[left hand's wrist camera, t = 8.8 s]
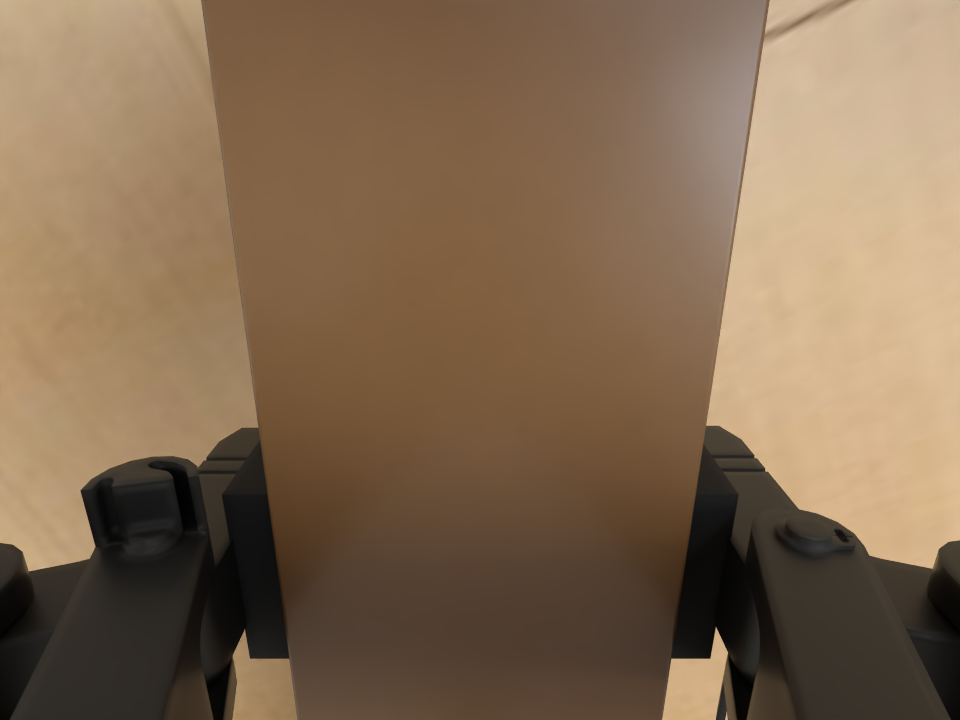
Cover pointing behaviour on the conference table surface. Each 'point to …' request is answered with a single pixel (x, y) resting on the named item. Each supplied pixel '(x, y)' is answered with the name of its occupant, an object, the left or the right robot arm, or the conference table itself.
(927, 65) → the conference table surface
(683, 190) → the bar
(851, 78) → the conference table surface
